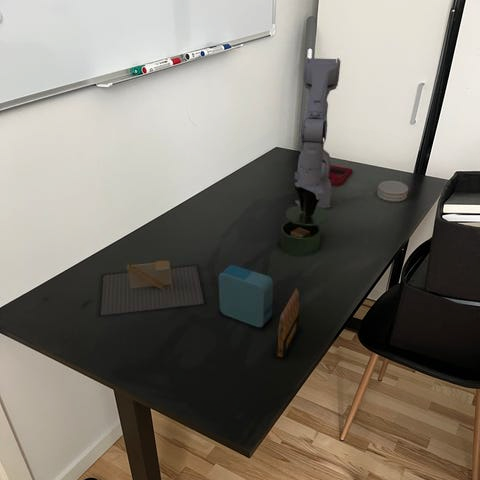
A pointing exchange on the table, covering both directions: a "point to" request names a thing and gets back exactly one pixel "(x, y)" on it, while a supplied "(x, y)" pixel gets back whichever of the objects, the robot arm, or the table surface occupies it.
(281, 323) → the brown wooden panel
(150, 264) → the model
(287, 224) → the bowl
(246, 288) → the data package
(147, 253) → the table surface
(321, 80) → the robot arm
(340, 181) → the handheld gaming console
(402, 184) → the coaster
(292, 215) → the lid
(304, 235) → the block
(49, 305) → the table surface
